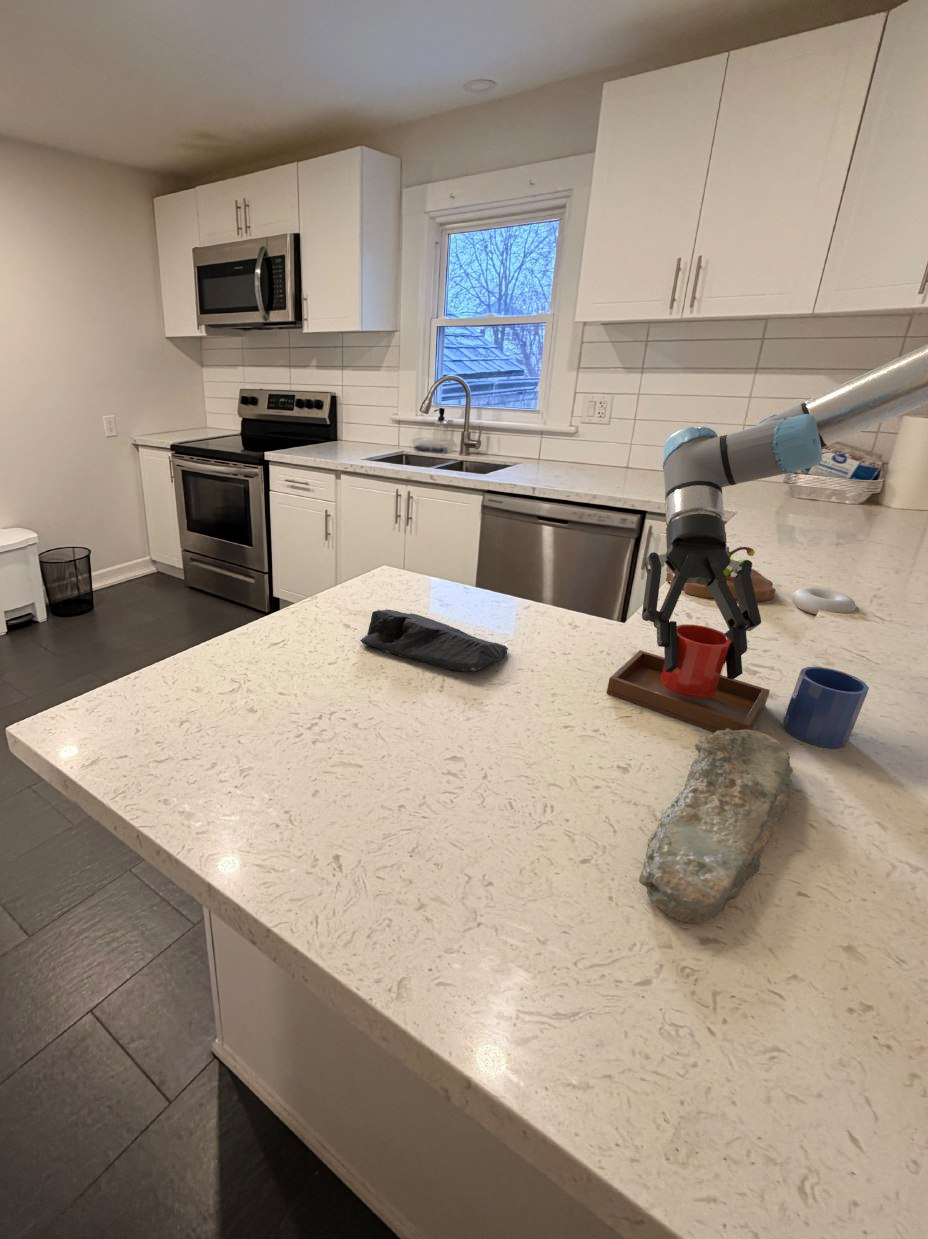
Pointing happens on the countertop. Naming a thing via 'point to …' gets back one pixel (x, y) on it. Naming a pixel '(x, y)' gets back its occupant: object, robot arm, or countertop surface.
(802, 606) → the donut
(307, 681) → the countertop surface
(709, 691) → the red cup
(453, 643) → the folded black pouch
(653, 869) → the elongated rock
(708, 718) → the tray
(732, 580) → the plant
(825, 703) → the blue cup
